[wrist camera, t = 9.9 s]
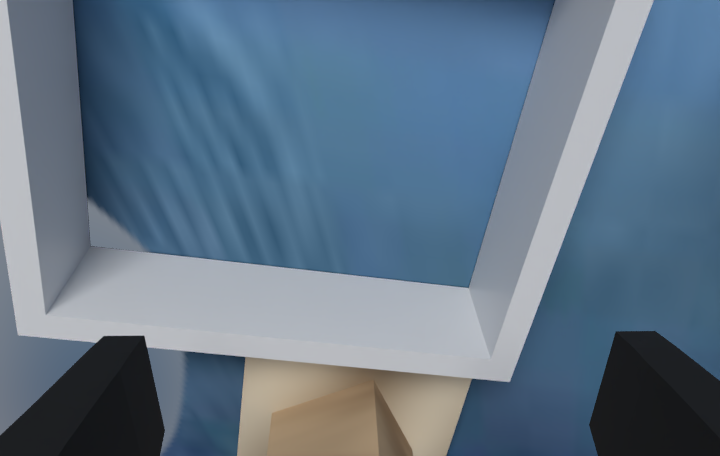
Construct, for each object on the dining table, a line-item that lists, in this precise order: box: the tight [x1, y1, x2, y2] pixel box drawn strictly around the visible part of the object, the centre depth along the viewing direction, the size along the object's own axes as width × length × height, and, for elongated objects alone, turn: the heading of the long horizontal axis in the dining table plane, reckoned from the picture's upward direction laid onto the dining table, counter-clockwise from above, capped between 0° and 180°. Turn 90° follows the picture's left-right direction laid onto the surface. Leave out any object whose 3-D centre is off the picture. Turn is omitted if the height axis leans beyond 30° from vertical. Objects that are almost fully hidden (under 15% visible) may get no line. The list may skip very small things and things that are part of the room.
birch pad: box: [237, 357, 472, 456], centre depth 24 cm, size 8×8×1 cm
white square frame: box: [0, 0, 654, 382], centre depth 16 cm, size 14×14×4 cm
